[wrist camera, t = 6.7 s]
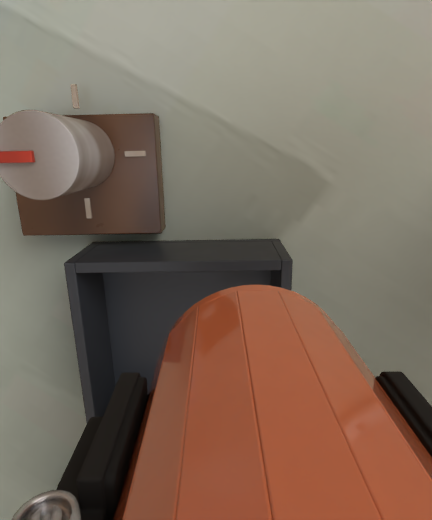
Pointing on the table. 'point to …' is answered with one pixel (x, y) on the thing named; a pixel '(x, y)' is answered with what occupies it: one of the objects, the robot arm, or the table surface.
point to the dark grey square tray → (152, 299)
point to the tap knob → (52, 154)
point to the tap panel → (109, 185)
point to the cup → (270, 422)
